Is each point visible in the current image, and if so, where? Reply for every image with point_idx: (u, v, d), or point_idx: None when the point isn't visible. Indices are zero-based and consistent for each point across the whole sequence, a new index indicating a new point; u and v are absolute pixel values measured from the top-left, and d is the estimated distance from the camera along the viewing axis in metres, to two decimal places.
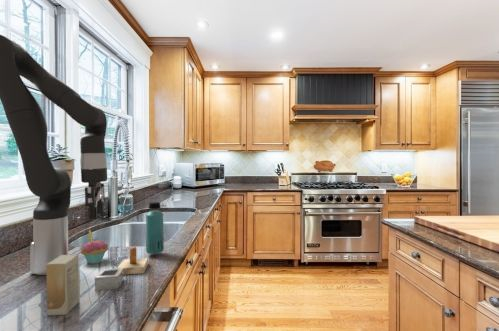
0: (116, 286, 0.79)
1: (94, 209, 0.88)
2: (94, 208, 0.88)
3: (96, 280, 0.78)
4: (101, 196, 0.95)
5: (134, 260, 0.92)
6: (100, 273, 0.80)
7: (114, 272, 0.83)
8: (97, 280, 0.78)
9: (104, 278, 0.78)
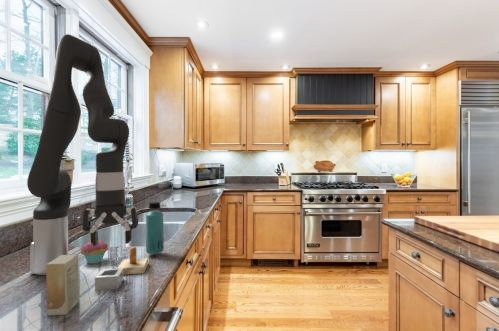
0: (116, 286, 0.79)
1: None
2: None
3: (96, 280, 0.78)
4: None
5: (134, 260, 0.92)
6: (100, 273, 0.80)
7: (114, 272, 0.83)
8: (97, 280, 0.78)
9: (104, 278, 0.78)
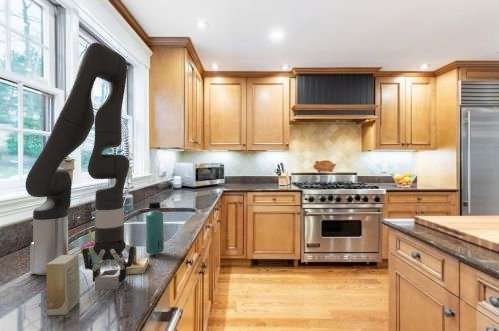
0: (116, 286, 0.79)
1: None
2: None
3: (96, 280, 0.78)
4: None
5: (134, 260, 0.92)
6: (100, 273, 0.80)
7: (114, 272, 0.83)
8: (97, 280, 0.78)
9: (104, 278, 0.78)
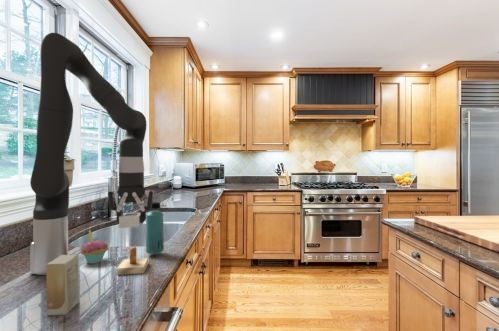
0: (137, 225, 0.89)
1: None
2: None
3: (120, 219, 0.88)
4: (125, 202, 0.92)
5: (134, 260, 0.92)
6: (123, 214, 0.91)
7: (135, 215, 0.93)
8: (121, 219, 0.88)
9: (127, 217, 0.88)
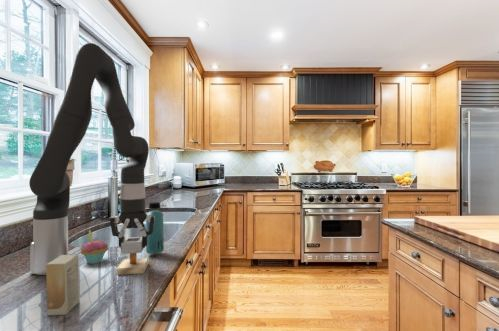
0: (139, 250, 0.90)
1: None
2: None
3: (122, 245, 0.89)
4: None
5: (134, 260, 0.92)
6: (125, 240, 0.92)
7: (136, 240, 0.95)
8: (123, 245, 0.89)
9: (129, 243, 0.89)
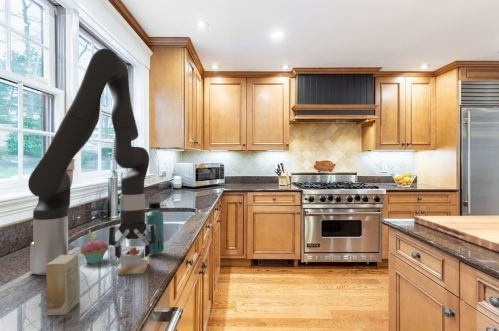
0: (139, 264, 0.90)
1: None
2: None
3: (122, 258, 0.89)
4: None
5: None
6: (124, 253, 0.92)
7: (136, 252, 0.94)
8: (123, 258, 0.89)
9: (129, 256, 0.89)
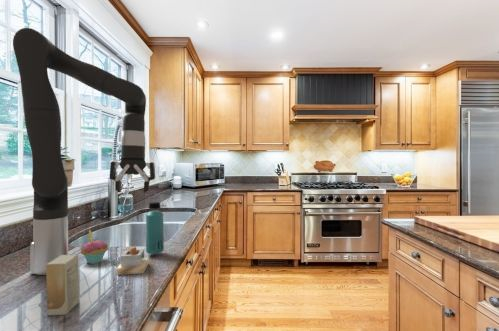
0: (139, 264, 0.90)
1: None
2: None
3: (122, 258, 0.89)
4: (125, 174, 0.97)
5: None
6: (124, 253, 0.92)
7: (136, 252, 0.94)
8: (123, 258, 0.89)
9: (129, 256, 0.89)
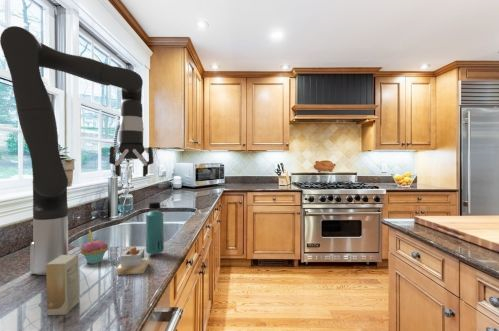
0: (139, 264, 0.90)
1: None
2: None
3: (122, 258, 0.89)
4: (124, 158, 1.00)
5: None
6: (124, 253, 0.92)
7: (136, 252, 0.94)
8: (123, 258, 0.89)
9: (129, 256, 0.89)
